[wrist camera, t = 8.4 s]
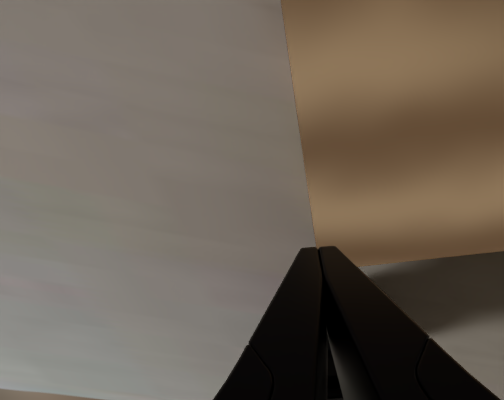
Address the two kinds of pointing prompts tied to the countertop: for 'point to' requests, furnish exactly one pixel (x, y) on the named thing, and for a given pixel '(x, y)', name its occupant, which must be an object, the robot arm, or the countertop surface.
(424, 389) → the robot arm
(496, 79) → the wooden block
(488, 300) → the countertop surface
